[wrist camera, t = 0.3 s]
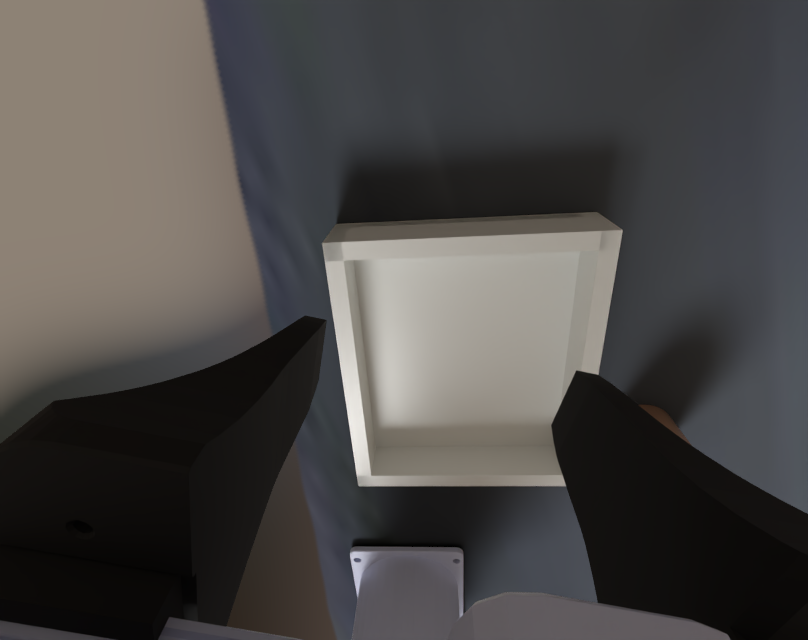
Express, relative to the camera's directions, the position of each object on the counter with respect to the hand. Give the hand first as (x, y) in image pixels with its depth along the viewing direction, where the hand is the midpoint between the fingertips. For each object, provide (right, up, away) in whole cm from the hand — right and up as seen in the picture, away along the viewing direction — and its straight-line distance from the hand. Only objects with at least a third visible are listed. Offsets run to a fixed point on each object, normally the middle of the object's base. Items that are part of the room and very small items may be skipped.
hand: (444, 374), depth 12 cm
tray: (+2, 0, +11) cm, 11 cm away
